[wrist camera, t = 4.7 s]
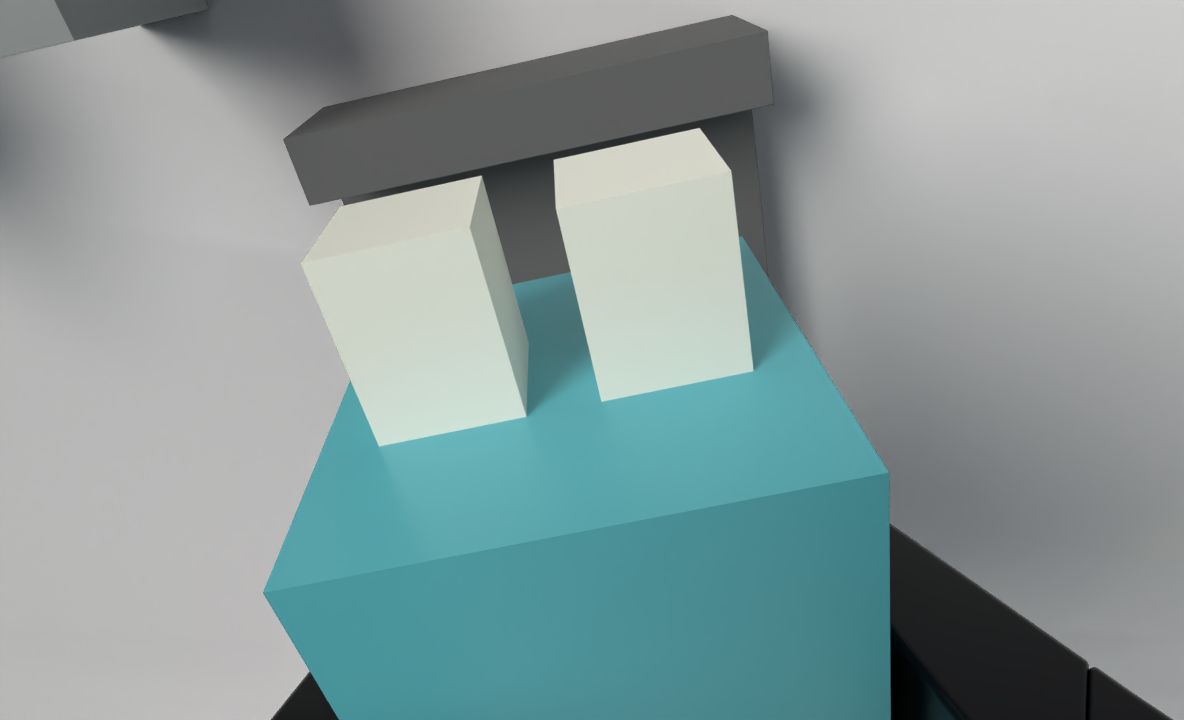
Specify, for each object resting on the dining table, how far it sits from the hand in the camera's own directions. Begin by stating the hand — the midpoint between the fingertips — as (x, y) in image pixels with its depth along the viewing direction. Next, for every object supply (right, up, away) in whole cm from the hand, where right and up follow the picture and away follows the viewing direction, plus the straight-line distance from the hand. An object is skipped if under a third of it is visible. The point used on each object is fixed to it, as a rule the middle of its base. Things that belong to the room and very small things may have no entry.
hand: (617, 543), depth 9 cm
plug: (0, +1, +1) cm, 1 cm away
